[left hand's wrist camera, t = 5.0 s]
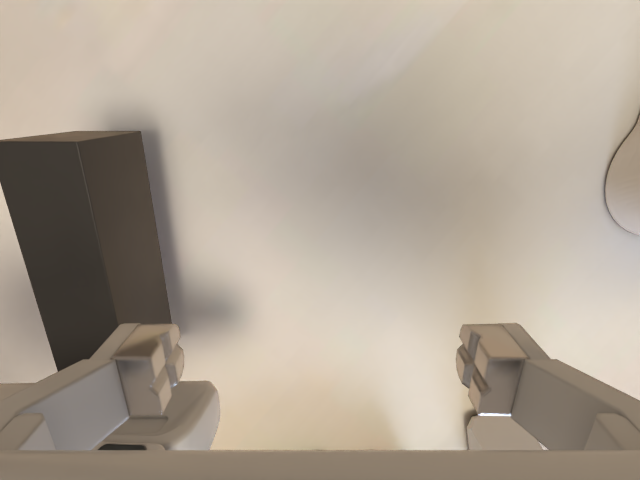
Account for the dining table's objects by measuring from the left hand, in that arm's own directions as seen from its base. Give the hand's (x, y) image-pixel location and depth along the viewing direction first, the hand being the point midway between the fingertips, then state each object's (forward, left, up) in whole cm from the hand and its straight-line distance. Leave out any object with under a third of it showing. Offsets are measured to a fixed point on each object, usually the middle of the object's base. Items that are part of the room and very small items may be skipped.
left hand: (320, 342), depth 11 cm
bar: (+21, -2, -25) cm, 32 cm away
